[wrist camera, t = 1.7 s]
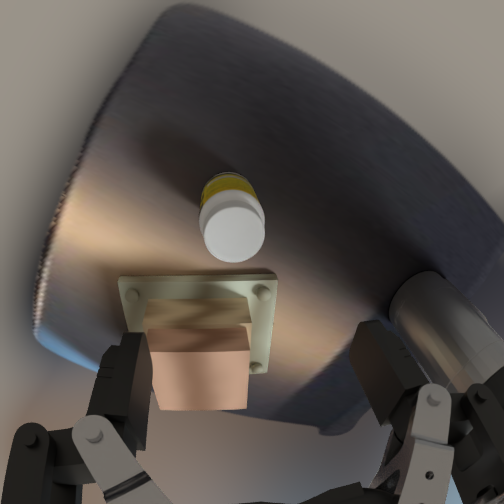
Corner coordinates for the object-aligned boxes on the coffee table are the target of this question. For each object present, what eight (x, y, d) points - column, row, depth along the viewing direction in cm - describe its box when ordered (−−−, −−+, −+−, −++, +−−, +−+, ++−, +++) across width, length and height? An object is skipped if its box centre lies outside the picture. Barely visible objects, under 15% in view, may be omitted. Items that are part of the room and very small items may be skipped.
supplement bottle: (193, 181, 26) (186, 214, 18) (244, 164, 26) (259, 189, 18) (211, 229, 28) (213, 277, 21) (260, 212, 28) (279, 254, 21)
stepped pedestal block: (275, 273, 31) (294, 325, 24) (265, 366, 38) (276, 417, 30) (120, 275, 29) (98, 328, 22) (142, 368, 35) (134, 419, 28)
